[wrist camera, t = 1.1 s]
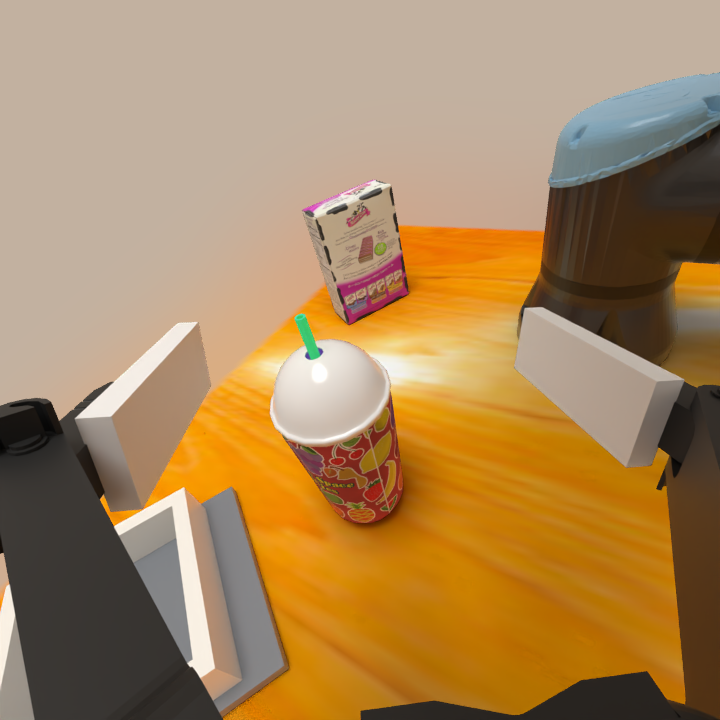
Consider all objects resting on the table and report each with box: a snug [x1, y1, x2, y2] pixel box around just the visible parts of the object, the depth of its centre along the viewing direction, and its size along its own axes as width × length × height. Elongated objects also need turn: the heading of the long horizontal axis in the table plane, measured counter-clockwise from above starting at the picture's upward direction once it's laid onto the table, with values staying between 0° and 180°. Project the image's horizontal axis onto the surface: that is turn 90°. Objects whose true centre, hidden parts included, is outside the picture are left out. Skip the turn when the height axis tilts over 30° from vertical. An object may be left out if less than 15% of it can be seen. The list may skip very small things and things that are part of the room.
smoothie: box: [270, 314, 403, 523], centre depth 28 cm, size 8×8×20 cm
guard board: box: [0, 487, 289, 720], centre depth 27 cm, size 20×16×5 cm
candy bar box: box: [302, 180, 409, 325], centre depth 52 cm, size 11×5×16 cm, turn 120°
